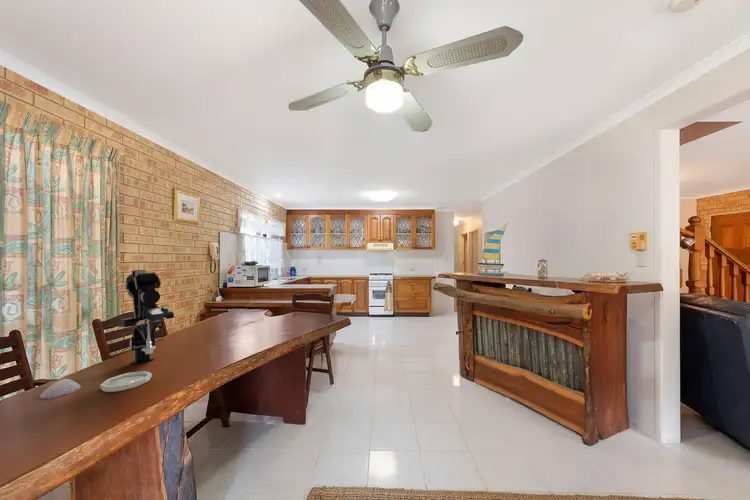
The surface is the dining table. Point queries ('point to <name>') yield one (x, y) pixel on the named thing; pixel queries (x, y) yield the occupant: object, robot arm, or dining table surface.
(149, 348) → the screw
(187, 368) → the dining table surface
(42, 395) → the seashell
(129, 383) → the dish
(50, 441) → the dining table surface
